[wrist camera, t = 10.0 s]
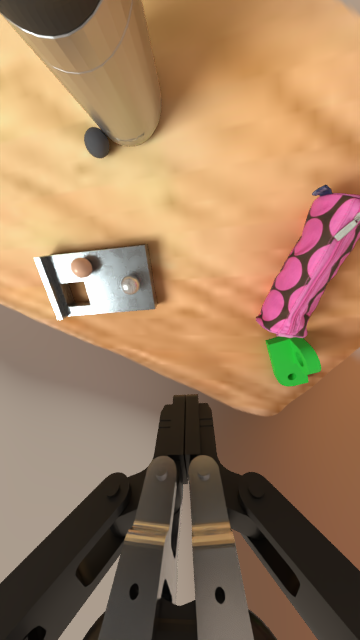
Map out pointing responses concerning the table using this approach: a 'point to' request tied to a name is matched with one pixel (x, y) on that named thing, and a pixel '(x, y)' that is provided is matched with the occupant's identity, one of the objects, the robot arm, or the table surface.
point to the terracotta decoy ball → (81, 267)
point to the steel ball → (130, 284)
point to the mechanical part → (292, 360)
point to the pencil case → (312, 263)
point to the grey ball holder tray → (99, 281)
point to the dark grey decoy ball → (96, 142)
